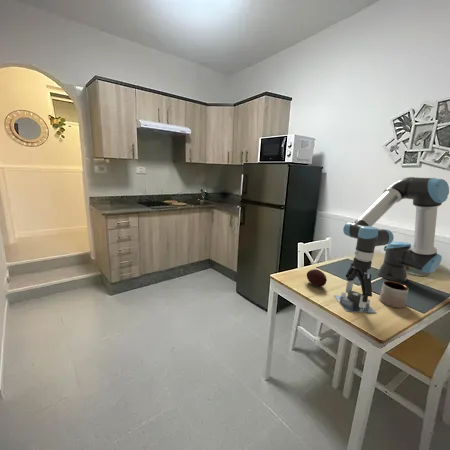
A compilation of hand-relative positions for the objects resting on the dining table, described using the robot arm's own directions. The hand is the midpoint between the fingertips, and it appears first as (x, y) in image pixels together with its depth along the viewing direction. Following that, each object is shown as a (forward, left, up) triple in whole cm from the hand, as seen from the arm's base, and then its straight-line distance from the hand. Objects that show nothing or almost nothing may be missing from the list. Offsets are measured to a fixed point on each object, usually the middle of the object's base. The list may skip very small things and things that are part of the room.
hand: (354, 299), depth 117 cm
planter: (-21, -4, -3) cm, 22 cm away
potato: (+13, -18, -3) cm, 22 cm away
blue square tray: (0, 0, -2) cm, 2 cm away
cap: (0, 0, -2) cm, 2 cm away
